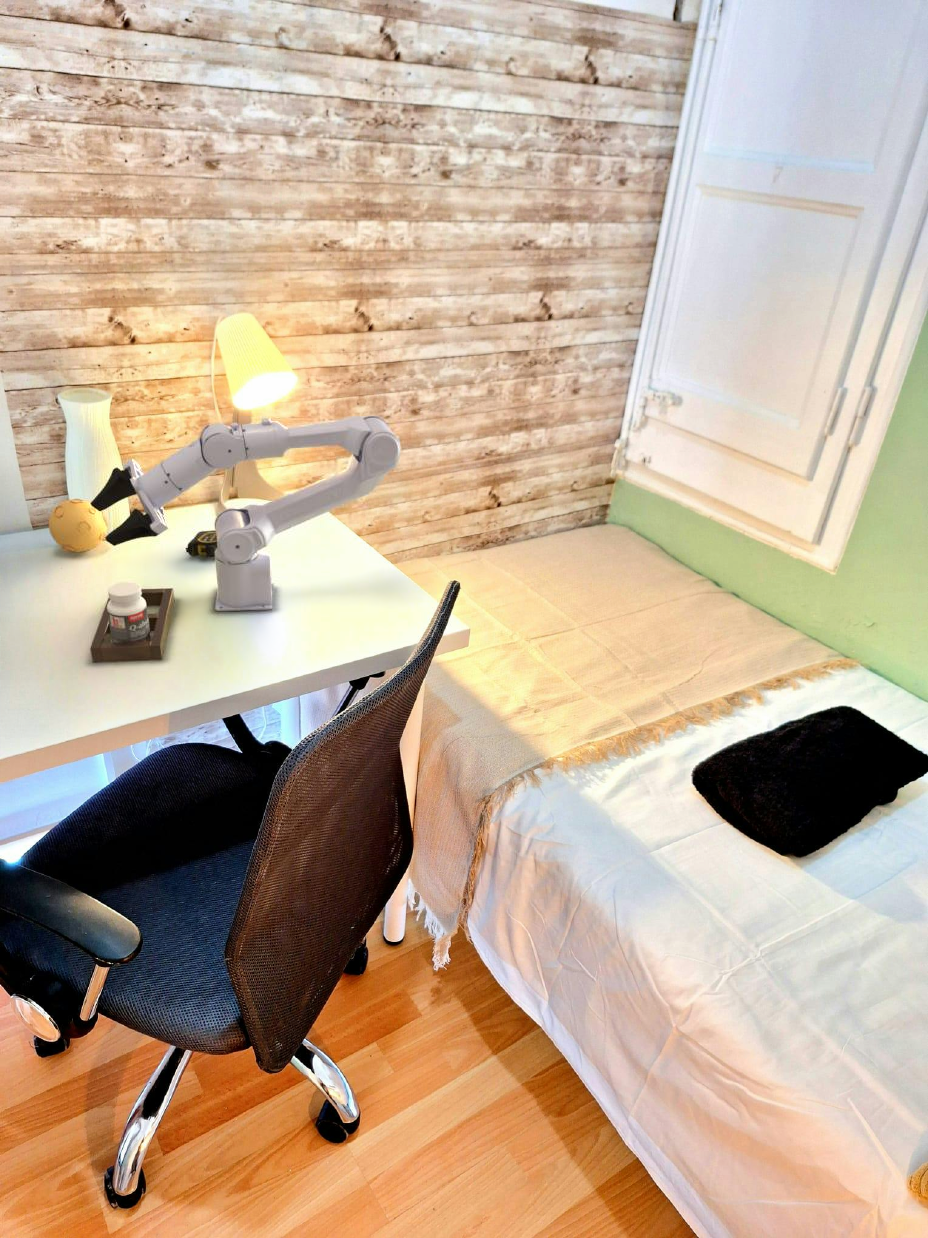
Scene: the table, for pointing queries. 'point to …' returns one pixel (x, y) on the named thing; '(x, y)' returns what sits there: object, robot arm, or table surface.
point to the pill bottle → (127, 613)
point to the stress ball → (77, 525)
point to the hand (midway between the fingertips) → (102, 524)
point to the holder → (137, 650)
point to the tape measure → (203, 544)
